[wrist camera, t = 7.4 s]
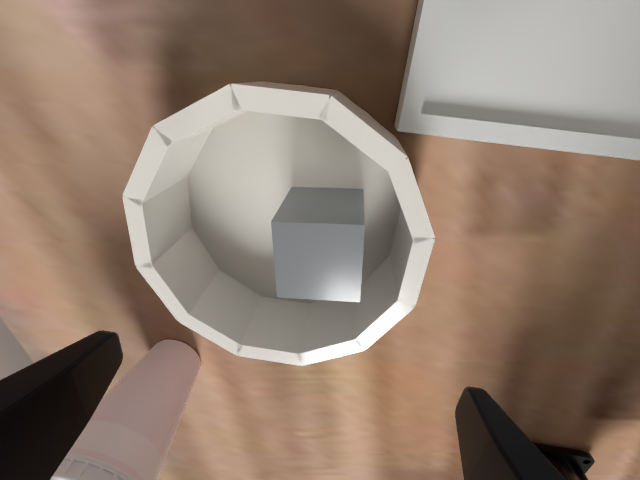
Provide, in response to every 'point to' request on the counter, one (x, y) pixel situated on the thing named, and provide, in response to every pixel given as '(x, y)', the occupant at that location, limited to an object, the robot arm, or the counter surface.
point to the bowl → (258, 211)
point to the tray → (526, 74)
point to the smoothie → (135, 419)
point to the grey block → (319, 244)
